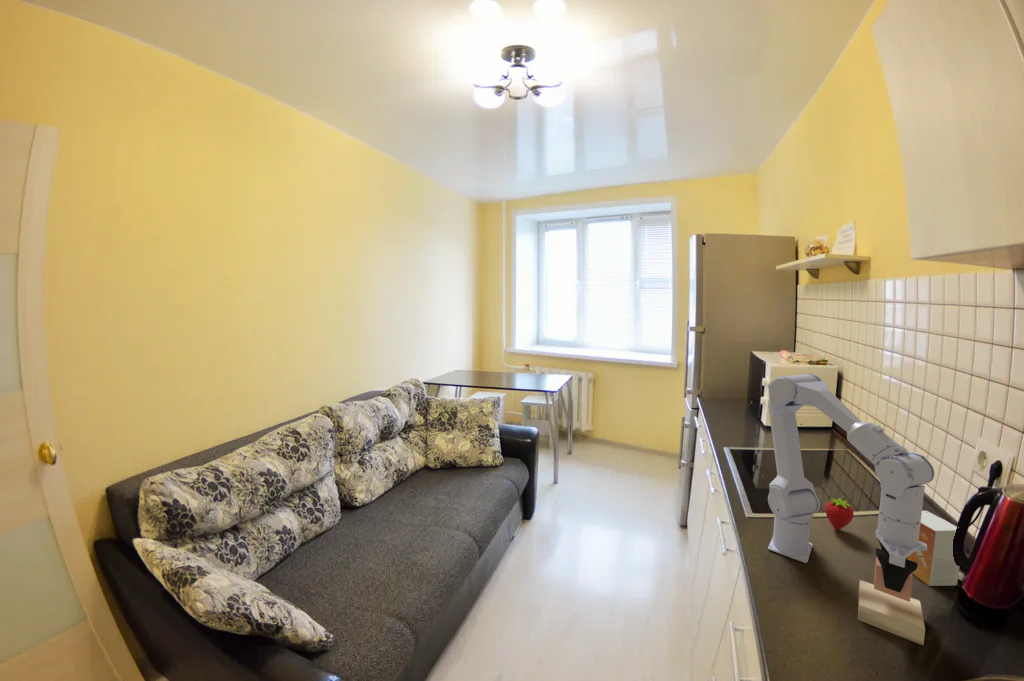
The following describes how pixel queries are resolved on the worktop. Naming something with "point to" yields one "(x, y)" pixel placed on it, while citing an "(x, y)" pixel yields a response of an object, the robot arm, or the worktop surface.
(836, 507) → the strawberry
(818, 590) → the worktop surface
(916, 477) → the robot arm
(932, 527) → the small box
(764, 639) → the worktop surface
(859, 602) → the birch base block
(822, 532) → the worktop surface
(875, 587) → the terracotta cube
